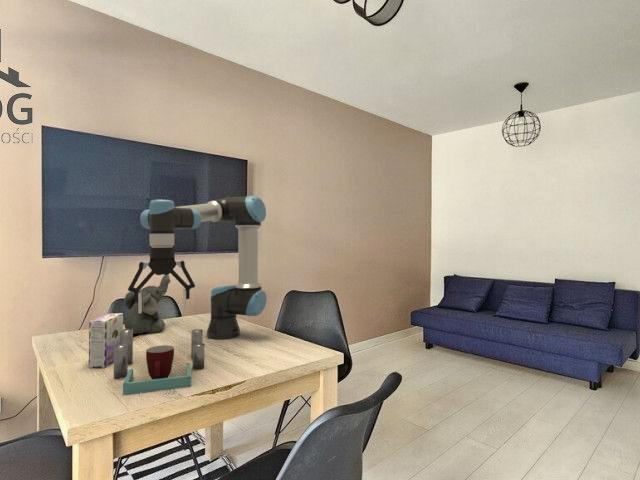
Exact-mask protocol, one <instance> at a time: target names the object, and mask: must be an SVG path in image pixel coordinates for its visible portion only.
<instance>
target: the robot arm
mask: <svg viewBox="0 0 640 480" xmlns="http://www.w3.org/2000/svg"><path fill="white" fill-rule="evenodd" d="M265 205H266V204H265V203H264V201H263V199H261V198H260V197H259V196H257V195H246V196H245V195H244V196H230V197H224V198H220V199H215V200H210V201H208V202H206V203H200V204H191V205H180V206H175V202H174V201H173V200H171V199H152V200H151V201H150V202H149V206H148V207H149V208H148V209H144V210H143V211H142V212H141V214H140V217H139V218H140V224H141V226H142V227H143V228H145V229H146V230H149V246H150V248H149V262H144V261H139V264H138V270H137V272H136V273H135V275H134V277H133V279H132V281H131V283H130V284H129V287H128V289H127V291H128V292H130V291H131V292H134V297H135V303H138V309H139V313H141V312H142V292H139V291H140V290H141V289H143V288H144V286H145V285H146V284H147V283H148V282H149V281H150V280H151V278H152V277H153V276H154V275H155V276H162V275H163V276H165V275H170V274H171V276H173V277H174V278H175V279H176V281H178V283H180V285H182V287H183V288H184V289H183V310H184V311H185V310H187V300H190V296H191V295H190V292H191V290H192V289H194V288H195V287H196V284H195V282H194V281H193V279H192V277H191V275H190V273H189V271H188V270H187V268H186V263H185V261H184V260H181V261H176V258H175V257H176V255H175V254H176V252H175V250H176V249H175V247H174V246H175V230H195V229H198V228H199V227H200V225H201V223H203V222H208V221H209V222H212V223H217V222H221V223H222V222H224V223H226V222H227V223H234V226H235V228H236V229H237V231H238V232H237V233H238V237H237V238H238V240H237V242H238V248H237V249H238V250H237V251H238V283H237V284H231V285H223V286H218V287H217V286H216V287H213V288H211V291H210V293H211V294H210V321H209V324H208V327H207V330H206V338H208V339H211V340H228V339H234V338H236V337H239V336H240V335H241V329H240V326H239V323H238V319H237V315H238V316H247V317H256V316H257V317H258V316H259V315H261V314H262V313H263V312H264V309H265V308H266V305H267V294H266V291H264V290H262V285H261V284H260V282H259V269H258V267H259V266H258V265H259V263H258V262H259V260H258V259H259V257H258V256H259V255H258V253H259V252H258V251H259V250H258V249H259V248H258V240H259V239H258V235H259V233H258V230H259V229H260V228H261V226H262V222H263V221H265V219H266V217H267V209H266V206H265ZM176 266H178V268H180V269H181V270H182V272H183V274H184V276H185V277H186V279H187V281H188V282H189V284H188V283H187V282H185V280H184V279H183V278H182V277H181V276H180V275H179V274H178V273H177V272H176V271H175V270H174V269H175V268H176ZM147 267H148V268H149V269H150V270H151V271H150V272H149V273H148V274H147V275H146V277H144V279H143V280H142V281H141V282H140V283H139V285H137V286H136V284H137V282H138V280H139V278H140V276H141V275H142V272H143V271H144V270H145V269H146V268H147ZM135 286H136V287H135Z"/></svg>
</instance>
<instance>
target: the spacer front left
mask: <svg viewBox="0 0 640 480" xmlns="http://www.w3.org/2000/svg"><path fill="white" fill-rule="evenodd" d="M205 346H206V345H205V343H203V342H202V343H197V344H193V345H192V359H191V360H192V361H191V363H192V365H191V366H192V367H191V368H192V369H191V370H195V371H198V370H199V371H200V370H202V369H204V368H205Z"/></svg>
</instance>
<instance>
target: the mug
mask: <svg viewBox="0 0 640 480" xmlns="http://www.w3.org/2000/svg"><path fill="white" fill-rule="evenodd" d="M174 347H175V346H173V345H167V344H166V345H163V344H162V345H155V346H152V347H149V348H147V349H146V352H145V361H146V366H147V371H148V375H149V377H150V380H152V379H161V378H169V376H170V375H171V372H172V368H173V363H174V357H175V348H174Z"/></svg>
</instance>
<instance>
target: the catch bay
mask: <svg viewBox="0 0 640 480" xmlns="http://www.w3.org/2000/svg"><path fill="white" fill-rule="evenodd" d="M185 364H186V365H185V366H186V369H185V372H186V373H185V374H186V375H181V376H172V377H171V376H170V377H169V376H168V378H161V379H145V380H144V379H143V380H137V381H133V380H134V368H129V369H128V373H127V376H126V377H124V381H123V383H122V395H123V396H124V395H132V394H133V395H135V394H139V393H140V392H141V393H148V391H149V392H156V391H155V390H157V391H163V389H165V390H172V389H179V387H181V388H186V387H185V386H188V387H192V371H191V370H192V369H191V368H192V367H191V363H190V362H186V363H185ZM141 393H140V394H141Z"/></svg>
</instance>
